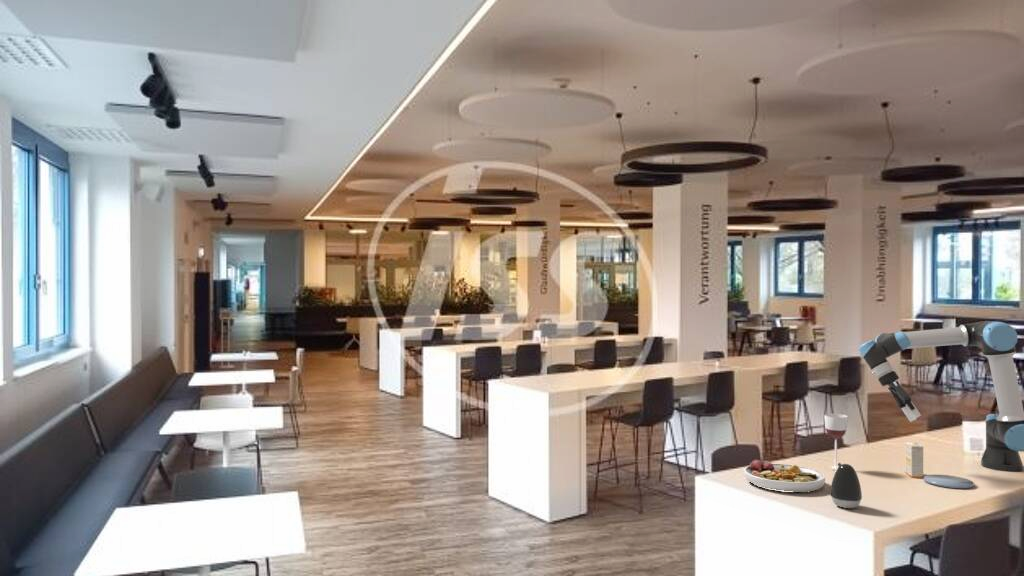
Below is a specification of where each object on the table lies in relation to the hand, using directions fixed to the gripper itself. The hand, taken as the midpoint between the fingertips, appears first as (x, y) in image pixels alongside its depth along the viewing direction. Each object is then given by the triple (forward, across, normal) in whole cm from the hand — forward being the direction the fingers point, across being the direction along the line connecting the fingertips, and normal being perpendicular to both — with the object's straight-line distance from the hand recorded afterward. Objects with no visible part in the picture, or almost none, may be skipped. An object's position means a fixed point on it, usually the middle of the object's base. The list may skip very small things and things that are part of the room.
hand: (915, 419), depth 303 cm
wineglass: (+4, -3, -38) cm, 39 cm away
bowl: (+2, +31, -60) cm, 68 cm away
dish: (+27, +5, -4) cm, 28 cm away
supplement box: (+20, -4, -13) cm, 24 cm away
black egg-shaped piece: (+18, +53, -45) cm, 72 cm away
